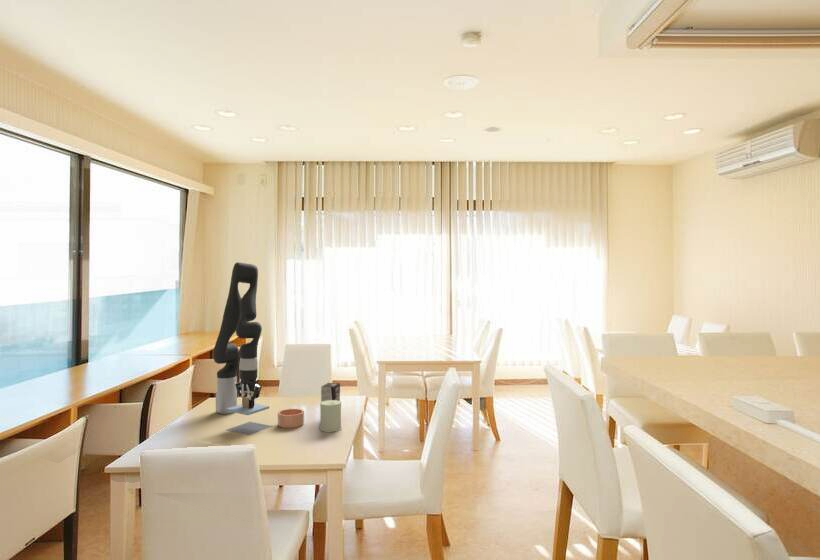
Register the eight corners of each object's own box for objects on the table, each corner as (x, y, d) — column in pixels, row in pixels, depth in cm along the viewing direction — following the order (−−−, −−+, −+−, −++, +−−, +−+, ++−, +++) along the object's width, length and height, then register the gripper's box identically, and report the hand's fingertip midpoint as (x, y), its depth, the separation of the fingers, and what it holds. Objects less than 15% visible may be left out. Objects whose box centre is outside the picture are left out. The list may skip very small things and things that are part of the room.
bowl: (272, 426, 227) (272, 413, 227) (289, 420, 237) (289, 407, 237) (292, 430, 222) (292, 416, 222) (308, 423, 232) (308, 410, 231)
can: (323, 433, 218) (323, 405, 218) (317, 427, 227) (317, 400, 226) (344, 430, 223) (344, 402, 222) (337, 424, 231) (337, 398, 231)
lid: (226, 410, 221) (226, 398, 221) (248, 404, 232) (248, 392, 232) (247, 415, 215) (247, 402, 215) (269, 408, 226) (269, 396, 226)
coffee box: (333, 422, 234) (333, 387, 234) (320, 421, 236) (320, 386, 235) (340, 416, 243) (340, 382, 243) (327, 416, 244) (327, 382, 244)
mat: (225, 430, 221) (225, 429, 221) (249, 422, 234) (249, 421, 234) (249, 435, 215) (249, 434, 215) (273, 426, 227) (273, 426, 227)
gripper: (230, 367, 224) (229, 406, 224) (254, 371, 217) (253, 411, 217) (243, 364, 230) (243, 403, 231) (266, 368, 223) (266, 407, 224)
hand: (248, 407), depth 224 cm, fingers closed on lid, 3 cm apart
